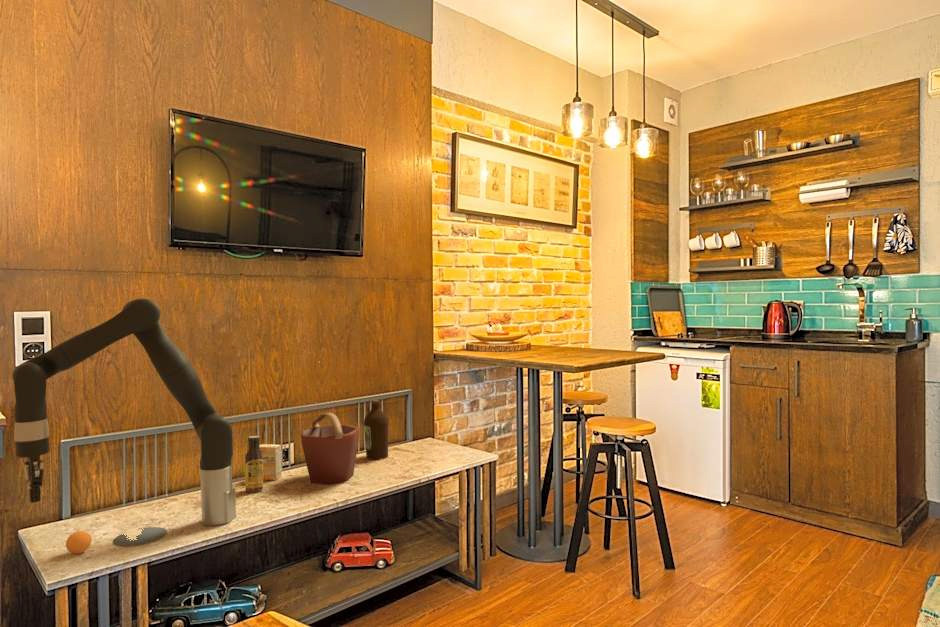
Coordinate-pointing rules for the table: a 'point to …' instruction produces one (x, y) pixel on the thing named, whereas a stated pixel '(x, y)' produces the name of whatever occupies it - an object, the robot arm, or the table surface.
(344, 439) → the bucket
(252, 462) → the sauce bottle
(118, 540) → the dark grey flat disc
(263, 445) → the supplement box
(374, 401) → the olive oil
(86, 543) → the ball
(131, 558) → the table surface
